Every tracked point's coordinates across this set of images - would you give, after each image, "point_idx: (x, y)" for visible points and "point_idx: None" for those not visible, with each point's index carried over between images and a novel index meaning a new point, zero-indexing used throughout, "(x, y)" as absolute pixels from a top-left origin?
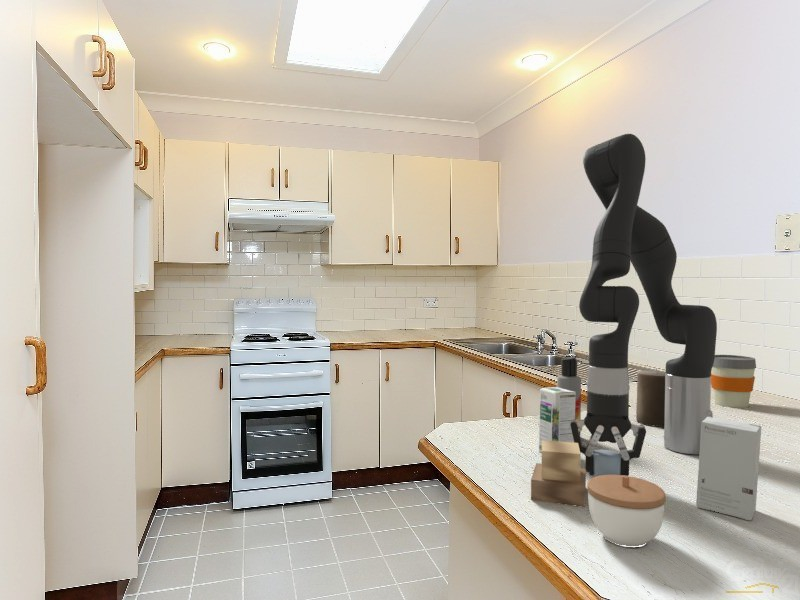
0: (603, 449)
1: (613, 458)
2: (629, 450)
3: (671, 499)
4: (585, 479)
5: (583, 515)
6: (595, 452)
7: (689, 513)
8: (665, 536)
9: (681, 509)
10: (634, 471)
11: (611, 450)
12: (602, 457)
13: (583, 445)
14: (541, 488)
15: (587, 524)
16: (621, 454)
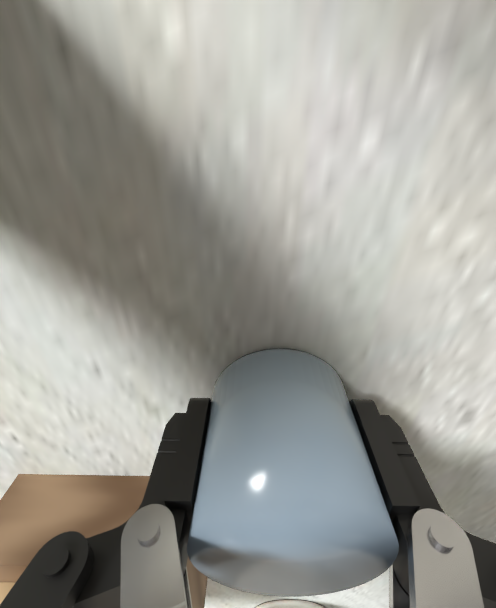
0: (269, 498)
1: (322, 591)
2: (486, 605)
3: (488, 483)
4: (193, 595)
5: (210, 580)
6: (207, 554)
7: (488, 537)
8: (370, 602)
9: (478, 525)
10: (479, 220)
11: (339, 506)
12: (255, 590)
13: (96, 602)
14: None
15: (221, 598)
16: (390, 604)
